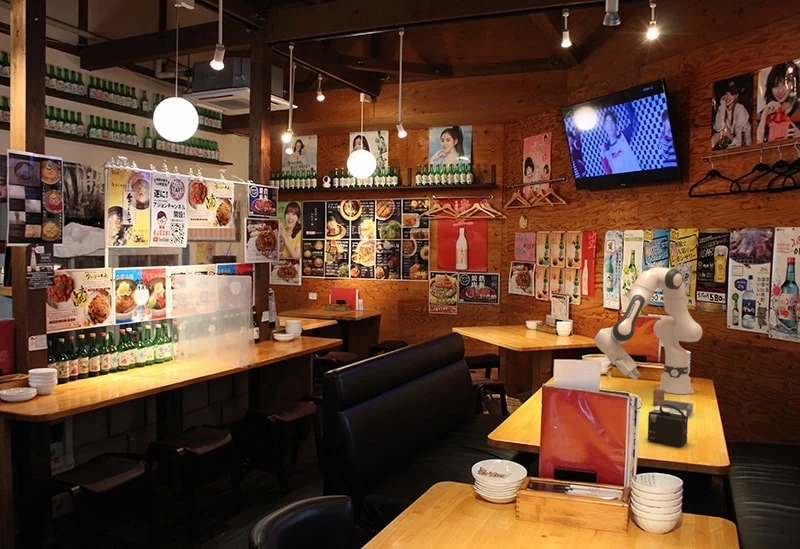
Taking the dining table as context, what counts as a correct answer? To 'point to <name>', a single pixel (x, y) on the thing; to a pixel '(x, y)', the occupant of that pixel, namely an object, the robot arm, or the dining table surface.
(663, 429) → the black portable radio
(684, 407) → the corner arena
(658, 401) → the walnut block
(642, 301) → the robot arm
